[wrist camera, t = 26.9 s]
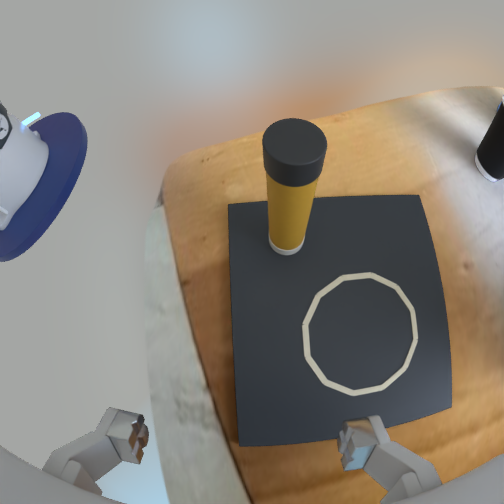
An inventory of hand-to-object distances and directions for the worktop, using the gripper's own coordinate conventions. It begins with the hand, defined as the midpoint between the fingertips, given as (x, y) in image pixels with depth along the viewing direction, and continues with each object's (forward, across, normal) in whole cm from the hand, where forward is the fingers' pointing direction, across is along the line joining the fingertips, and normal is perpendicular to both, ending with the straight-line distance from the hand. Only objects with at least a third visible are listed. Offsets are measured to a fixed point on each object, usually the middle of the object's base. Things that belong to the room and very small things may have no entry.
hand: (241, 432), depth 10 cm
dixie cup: (+23, -32, -14) cm, 42 cm away
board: (+14, -9, +2) cm, 16 cm away
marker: (+17, -3, -4) cm, 18 cm away
